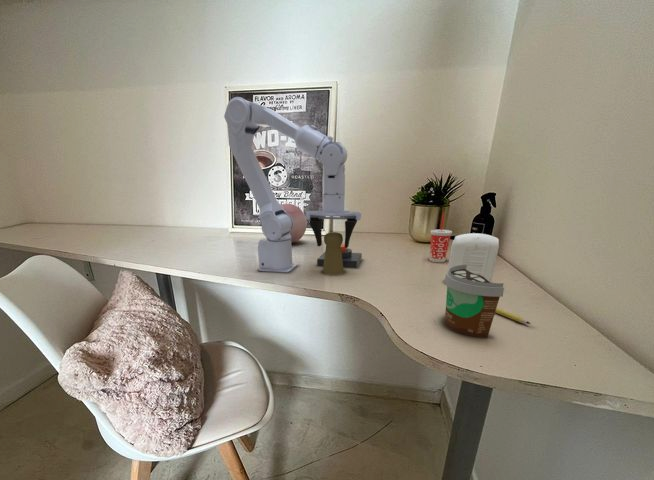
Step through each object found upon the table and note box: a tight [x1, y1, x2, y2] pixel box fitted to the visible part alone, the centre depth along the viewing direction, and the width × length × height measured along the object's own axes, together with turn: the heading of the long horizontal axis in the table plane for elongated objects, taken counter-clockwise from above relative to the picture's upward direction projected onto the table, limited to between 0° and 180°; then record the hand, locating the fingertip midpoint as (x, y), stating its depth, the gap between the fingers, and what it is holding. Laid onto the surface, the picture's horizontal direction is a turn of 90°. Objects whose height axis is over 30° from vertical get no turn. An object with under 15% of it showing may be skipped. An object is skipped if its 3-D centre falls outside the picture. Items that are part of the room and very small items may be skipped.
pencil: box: [495, 307, 531, 325], centre depth 66 cm, size 1×14×1 cm, turn 24°
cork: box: [322, 231, 345, 276], centre depth 93 cm, size 6×6×11 cm
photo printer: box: [446, 232, 500, 283], centre depth 80 cm, size 10×4×12 cm, turn 72°
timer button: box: [341, 243, 347, 252], centre depth 102 cm, size 4×4×2 cm
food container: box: [443, 265, 505, 338], centre depth 59 cm, size 12×6×10 cm, turn 5°
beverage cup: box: [429, 213, 453, 263], centre depth 101 cm, size 6×6×14 cm
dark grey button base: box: [316, 247, 363, 269], centre depth 103 cm, size 12×10×4 cm
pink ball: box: [280, 203, 308, 244], centre depth 129 cm, size 15×15×15 cm
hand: (332, 246), depth 92 cm, fingers open, 7 cm apart
